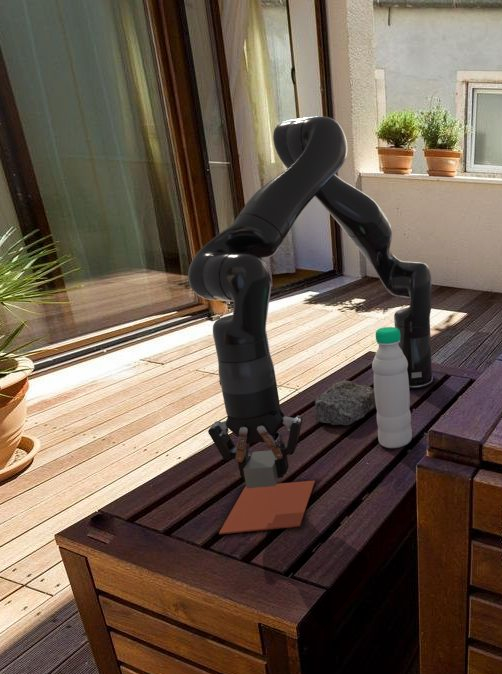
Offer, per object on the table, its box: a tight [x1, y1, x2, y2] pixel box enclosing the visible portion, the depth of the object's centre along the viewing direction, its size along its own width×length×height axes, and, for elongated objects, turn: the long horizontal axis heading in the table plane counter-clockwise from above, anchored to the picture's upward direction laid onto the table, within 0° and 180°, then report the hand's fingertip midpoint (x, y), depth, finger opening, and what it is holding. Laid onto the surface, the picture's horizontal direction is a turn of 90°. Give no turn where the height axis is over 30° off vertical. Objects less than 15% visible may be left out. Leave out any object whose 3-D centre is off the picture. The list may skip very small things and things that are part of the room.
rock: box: [314, 379, 376, 426], centre depth 111 cm, size 13×6×15 cm
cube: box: [243, 449, 280, 488], centre depth 78 cm, size 5×4×4 cm
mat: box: [218, 480, 316, 535], centre depth 80 cm, size 12×12×1 cm
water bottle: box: [371, 326, 413, 449], centre depth 96 cm, size 7×7×25 cm
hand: (265, 476), depth 78 cm, fingers closed on cube, 4 cm apart
